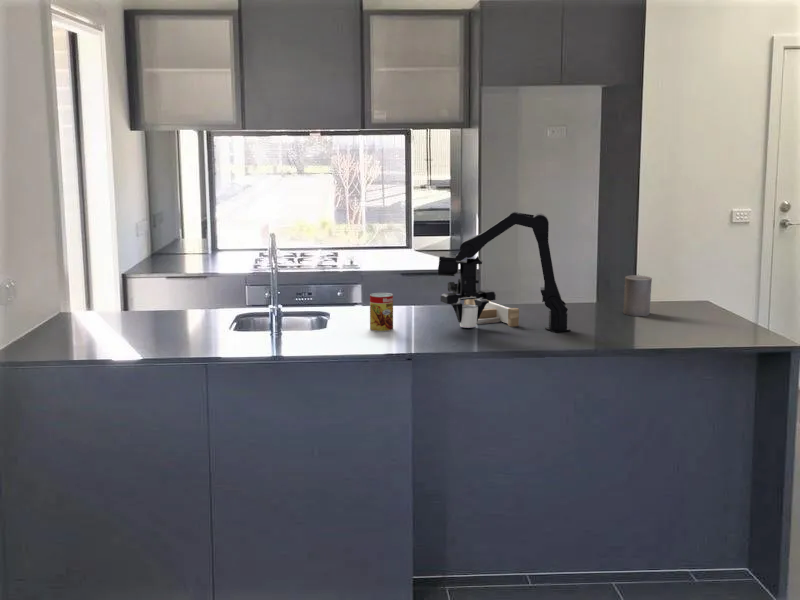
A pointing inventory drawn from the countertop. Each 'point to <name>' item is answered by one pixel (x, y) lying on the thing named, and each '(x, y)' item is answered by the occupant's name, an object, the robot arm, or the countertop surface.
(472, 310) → the white grey-rimmed cylinder
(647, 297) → the pillar candle
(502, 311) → the sliding door
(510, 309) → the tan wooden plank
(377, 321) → the canned food
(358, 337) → the countertop surface
